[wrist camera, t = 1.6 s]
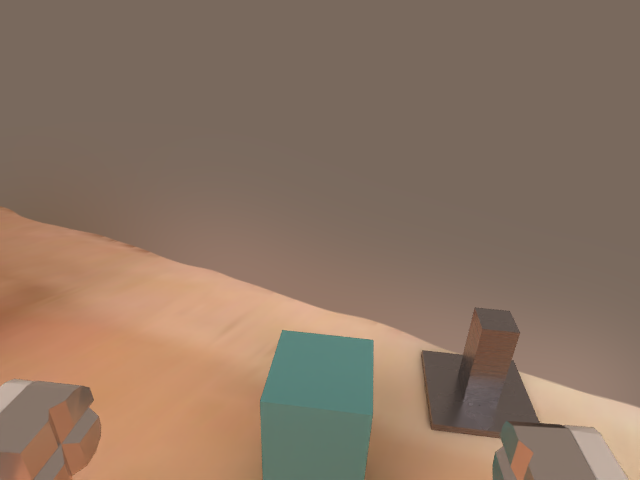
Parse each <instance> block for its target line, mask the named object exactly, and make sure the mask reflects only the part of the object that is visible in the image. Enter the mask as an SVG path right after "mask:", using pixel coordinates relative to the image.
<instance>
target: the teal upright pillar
mask: <svg viewBox="0 0 640 480" xmlns="http://www.w3.org/2000/svg"><path fill="white" fill-rule="evenodd" d="M260 415H261V443H262V471H263V480H364V477H365V470H366V462H367V455H368V447H369V440H370V433H371V425H372V418H373V340H369V339H360V338H351V337H341V336H332V335H323V334H314V333H304V332H295V331H286V330H282V333H281V336H280V339H279V342H278V346H277V349H276V352H275V355H274V358H273V361H272V365H271V368H270V371H269V374H268V377H267V381H266V384H265V387H264V390H263V393H262V397H261V400H260Z"/></svg>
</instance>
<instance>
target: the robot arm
mask: <svg viewBox="0 0 640 480" xmlns="http://www.w3.org/2000/svg"><path fill="white" fill-rule="evenodd" d="M93 401H94V399H93V396H92V393H91V391H90V388H89V387H85V386H79V385H70V384H62V383H53V382H44V381H31V380H22V379H13V380H10V381H8V382H5V383H4V384H3V385H2V386H0V480H72V476H73V475H74V474H75V473H77V472H78V471H80V470H81V469H83V468H84V467H86V466H87V465H88V463H89V462H90V460H91V459H92V457H93V455H94V454H95V452H96V449H97V446H98V443H99V440H100V437H101V423H100V420H99V416H98V415H97V414H96V413H95V412H93V411H92V410H91V409H90V408H89V407H90V405H91V404H92V402H93ZM500 437H501V440H502V443H503V447H502V448H500V449H499V450H498V451H496V452H495V456H494V461H493V480H629V479H628V478H627V476H626V474H625V473H624V471H623V470H622V468H621V466H620V465H619V463H618V461H617V460H616V458H615V457H614V455H613V453H612V452H611V450H610V448H609V447H608V445H607V444H606V442H605V440H604V439H603V437H602V435H601V434H600V432H598V431H597V430H596V429H595V428H594V427H582V426H569V425H563V426H562V425H558V424H544V423H530V422H517V421H506V422H505V423H504V425H503V426H502V430H501V433H500Z"/></svg>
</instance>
